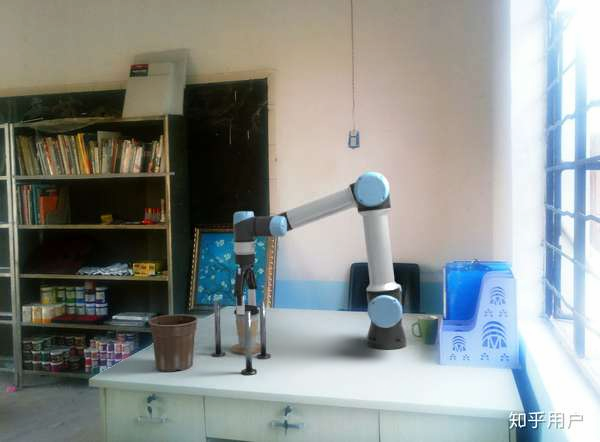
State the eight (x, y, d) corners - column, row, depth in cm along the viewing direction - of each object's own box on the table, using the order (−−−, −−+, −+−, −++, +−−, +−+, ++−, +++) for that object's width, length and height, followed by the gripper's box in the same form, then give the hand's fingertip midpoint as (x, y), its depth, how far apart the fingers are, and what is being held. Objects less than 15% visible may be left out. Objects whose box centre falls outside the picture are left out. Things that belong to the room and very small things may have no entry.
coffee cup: (262, 344, 201) (262, 305, 200) (256, 351, 192) (255, 310, 191) (239, 343, 203) (238, 304, 202) (231, 350, 194) (230, 309, 193)
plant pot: (206, 360, 186) (205, 314, 185) (187, 375, 170) (186, 325, 170) (163, 358, 189) (162, 313, 189) (141, 373, 174) (139, 324, 173)
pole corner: (272, 355, 190) (270, 299, 189) (268, 359, 185) (267, 302, 184) (258, 354, 191) (257, 299, 190) (254, 358, 186) (253, 302, 185)
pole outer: (258, 370, 174) (257, 310, 173) (254, 375, 169) (252, 313, 168) (244, 369, 175) (242, 309, 174) (239, 374, 170) (237, 313, 169)
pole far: (227, 353, 194) (225, 298, 193) (222, 357, 189) (220, 301, 188) (214, 352, 195) (212, 298, 194) (209, 356, 190) (207, 301, 189)
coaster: (267, 346, 202) (267, 343, 202) (258, 355, 190) (258, 352, 190) (237, 344, 205) (237, 342, 204) (226, 353, 193) (226, 351, 193)
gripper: (243, 257, 183) (245, 318, 184) (263, 249, 207) (265, 303, 208) (223, 257, 184) (225, 317, 185) (245, 249, 209) (247, 303, 210)
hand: (246, 310), depth 197 cm, fingers open, 13 cm apart
